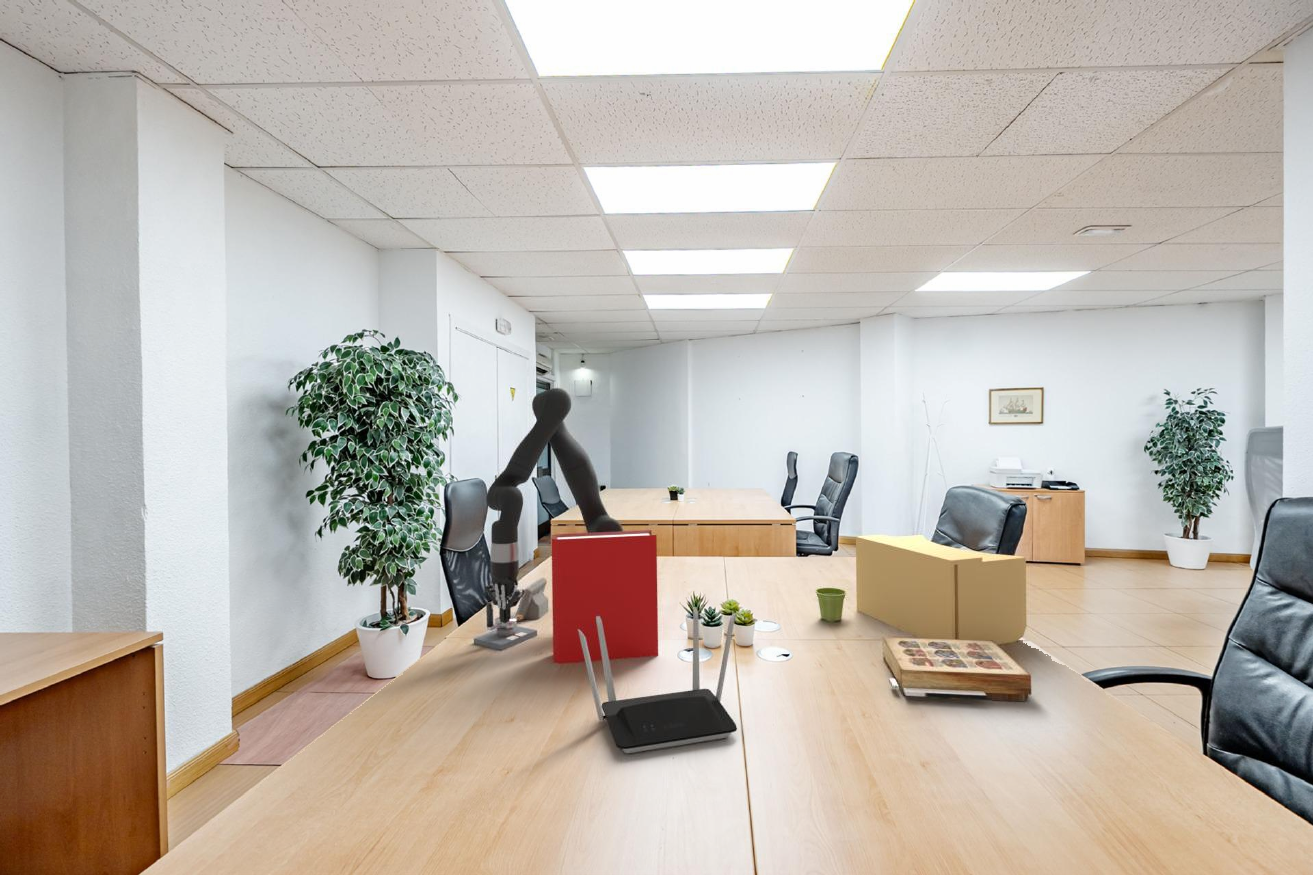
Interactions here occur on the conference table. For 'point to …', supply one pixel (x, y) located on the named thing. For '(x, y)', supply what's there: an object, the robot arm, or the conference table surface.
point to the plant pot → (831, 603)
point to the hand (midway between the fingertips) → (504, 621)
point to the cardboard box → (941, 589)
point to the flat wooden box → (955, 669)
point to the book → (604, 594)
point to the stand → (505, 637)
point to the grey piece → (499, 624)
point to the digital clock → (533, 601)
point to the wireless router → (663, 706)
